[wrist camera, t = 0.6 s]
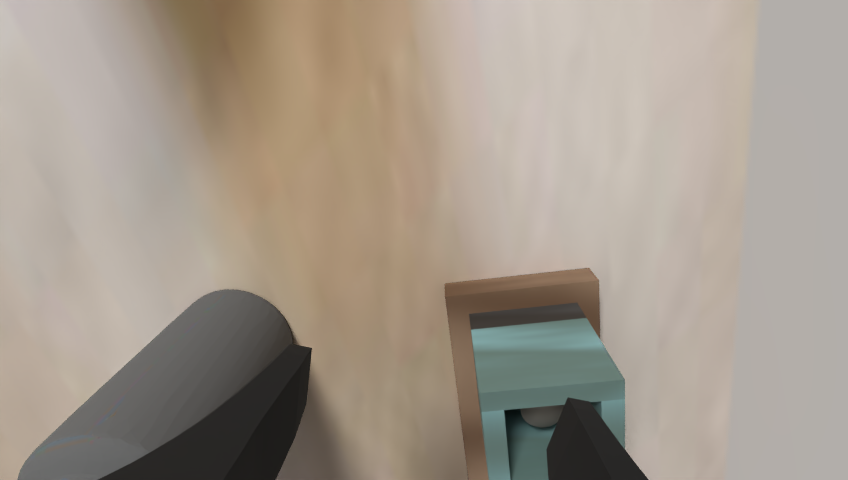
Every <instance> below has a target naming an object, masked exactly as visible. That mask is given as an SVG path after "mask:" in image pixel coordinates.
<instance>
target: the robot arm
mask: <svg viewBox="0 0 848 480" xmlns="http://www.w3.org/2000/svg"><path fill="white" fill-rule="evenodd" d="M311 351H312V348H309V347H304V346H298V345H293V344H289V345H287V346H286V347H285V348H284V349H283V350H282V351H281V352H280V353H279V354H278V355H277V356H276V357H275V358H274V359H273V360H272V361H271V362H270V363H269V364H268V365H267V366H265V367H264V368H263V369H262V370H261V371H260V372H259V373H258V374H257V375H256V376H255V377H253V378H252V379H251V380H250V381H249V382H248V383H247V384H245V385H244V386H243V387H242V388H241V389H240V390H239V391H237V392H236V393H235V394H234V395H232V396H231V397H230V398H229V399H227V400H226V401H225V402H224V403H222V404H221V405H220V406H218V407H217V408H216V409H215V410H213V411H212V412H211V413H209V414H208V415H207V416H205V417H204V418H202V419H201V420H200V421H198V422H197V423H195V424H194V425H193V426H191V427H190V428H188V429H187V430H185V431H184V432H182V433H181V434H179V435H178V436H176V437H174V438H173V439H171V440H170V441H168V442H166V443H165V444H163V445H161V446H160V447H158V448H156V449H155V450H153V451H151V452H150V453H148V454H146V455H144V456H143V457H141V458H139V459H137V460H135V461H134V462H132V463H130V464H128V465H126V466H124V467H122V468H120V469H118V470H116V471H114V472H112V473H110V474H108V475H106V476H104V477H102V478H100V479H98V480H275V479H276V477H277V475H278V473H279V471H280V469H281V467H282V464H283V462H284V460H285V458H286V456H287V454H288V451H289V449H290V447H291V445H292V443H293V441H294V438H295V435H296V433H297V430H298V427H299V424H300V421H301V418H302V415H303V412H304V409H305V406H306V400H307V390H308V381H309V371H310V361H311ZM546 451H547V466H548V478H549V480H648V479H647V477H646V476H645V475H644V474H643V472H642V471H641V470H640V469H639V467H638V466H637V465H636V464H635V462H634V461H633V460H632V458H631V457H630V456H629V454H628V453H627V452H626V450H625V449H624V448H623V446H622V445H621V444H620V442H619V441H618V440H617V438H616V437H615V436H614V434H613V433H612V432H611V430H610V429H609V427H608V426H607V425H606V423H605V422H604V421H603V419H602V418H601V416H600V415H599V414H598V412H597V411H596V410H595V408H594V407H593V406H592V404H591V403H590V402H589V401H584V400H579V399H574V398H569V397H568V398H567V400H566V403H565V405H564V407H563V410H562V412H561V415H560V417H559V420H558V422H557V425H556V427H555V429H554V432H553V434H552V437H551V439H550V442H549V444H548V447H547V449H546Z"/></svg>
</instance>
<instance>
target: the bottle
mask: <svg viewBox="0 0 848 480" xmlns="http://www.w3.org/2000/svg"><path fill="white" fill-rule="evenodd" d="M289 344H293V340H292V335H291V331H290V328H289V326H288V324H287V322H286V320H285V318H284V317H283V316H282V314H281V313H280V312H279V311H278V310H277V309H276V308H275V307H274V306H273V305H272V304H271V303H269V302H268V301H266V300H265V299H263V298H261V297H259V296H257V295H254V294H252V293H250V292H245V291H241V290H220V291H215V292H212V293H209V294H207V295H205V296H203V297H201V298H200V299H198V300H197V301H196V302H194V303H193V304H192V305H191V306H190V307H188V308H187V309H186V310H185V311H184V312H183V313H182V314H181V315H179V316H178V317H177V318H176V319H175V320H174V321H173V322H172V323H171V324H169V325H168V326H167V327H166V328H165V329H164V330H163V331H162V332H161V333H160V334H159V335H158V336H156V337H155V338H154V339H153V340H152V341H151V342H150V343H149V344H148V345H147V346H146V347H145V348H143V349H142V350H141V351H140V352H139V353H138V354H137V355H136V356H135V357H134V358H133V359H132V360H130V361H129V362H128V363H127V364H126V365H125V366H124V367H123V368H122V369H121V370H120V371H118V372H117V373H116V374H115V375H114V376H113V377H112V378H111V379H110V380H109V381H108V382H107V383H105V384H104V385H103V386H102V387H101V388H100V389H99V390H98V391H97V392H96V393H95V394H94V395H92V396H91V397H90V398H89V399H88V400H87V401H86V402H85V403H84V404H83V405H82V406H81V407H79V408H78V409H77V410H76V411H75V412H74V413H73V414H72V415H71V416H70V417H69V418H68V419H67V420H66V421H65V422H64V423H63V424H61V425H60V426H59V427H58V428H57V429H56V430H55V431H54V432H53V433H52V434H51V435H50V436H49V437H48V438H47V439H46V440H45V441H44V442H43V443H42V444H41V445H40V446H38V447H37V448H36V449H35V451H34V452H33V453H32V454H31V455H30V456H29V458H28V459H27V460H26V461H25V463H24V465H23V466H22V468H21V470H20V473H19V476H18V480H98V479H100V478H102V477H104V476H106V475H108V474H110V473H112V472H114V471H116V470H118V469H120V468H122V467H124V466H126V465H128V464H130V463H132V462H134V461H135V460H137V459H139V458H141V457H143V456H144V455H146V454H148V453H150V452H151V451H153V450H155V449H156V448H158V447H160V446H161V445H163V444H165V443H166V442H168V441H170V440H171V439H173V438H174V437H176V436H178V435H179V434H181V433H182V432H184V431H185V430H187V429H188V428H190V427H191V426H193V425H194V424H195V423H197V422H198V421H200V420H201V419H202V418H204V417H205V416H207V415H208V414H209V413H211V412H212V411H213V410H215V409H216V408H217V407H218V406H220V405H221V404H222V403H224V402H225V401H226V400H227V399H229V398H230V397H231V396H232V395H234V394H235V393H236V392H237V391H239V390H240V389H241V388H242V387H243V386H244V385H245V384H247V383H248V382H249V381H250V380H251V379H252V378H253V377H255V376H256V375H257V374H258V373H259V372H260V371H261V370H262V369H263V368H264V367H265V366H267V365H268V364H269V363H270V362H271V361H272V360H273V359H274V358H275V357H276V356H277V355H278V354H279V353H280V352H281V351H282V350H283V349H284V348H285V347H286V346H287V345H289Z"/></svg>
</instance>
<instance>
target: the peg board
mask: <svg viewBox="0 0 848 480" xmlns="http://www.w3.org/2000/svg"><path fill="white" fill-rule="evenodd" d="M445 299H446V307H447V315H448V322H449V330H450V338H451V346H452V354H453V362H454V369H455V377H456V385H457V393H458V401H459V408H460V416H461V424H462V432H463V440H464V447H465V455H466V463H467V471H468V479H469V480H549V478H548V466H547V451H546V449H547V447H548V444H549V442H550V439H551V437H552V434H553V432H554V429H555V427H556V425H557V422H558V420H559V417H560V415H561V412H562V410H563V407H564V405H565V403H566V400H567V398H568V397H569V398H574V399H579V400H584V401H589V402H590V403H591V404H592V406H593V407H594V408H595V410H596V411H597V412H598V414H599V415H600V416H601V418H602V419H603V421H604V422H605V423H606V425H607V426H608V427H609V429H610V430H611V432H612V433H613V434H614V436H615V437H616V438H617V440H618V441H619V442H620V444H621V445H622V446H623V448H624V449H625V379H624V378H623V376H622V374H621V373H620V371H619V370H618V368H617V366H616V365H615V363H614V361H613V360H612V358H611V357H610V355H609V353H608V352H607V350H606V348H605V347H604V345H603V344H602V342H601V340H600V315H599V280H598V279H597V277H596V276H595V275H594V274H593V272H592V271H591V270H590V268H584V269H575V270H566V271H557V272H547V273H538V274H529V275H520V276H511V277H501V278H492V279H483V280H474V281H465V282H456V283H446V284H445Z"/></svg>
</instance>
